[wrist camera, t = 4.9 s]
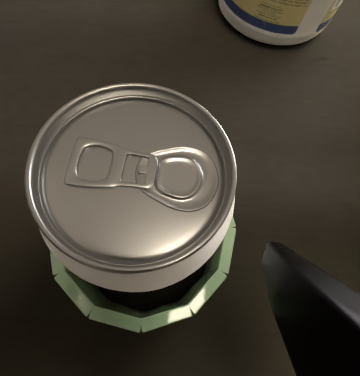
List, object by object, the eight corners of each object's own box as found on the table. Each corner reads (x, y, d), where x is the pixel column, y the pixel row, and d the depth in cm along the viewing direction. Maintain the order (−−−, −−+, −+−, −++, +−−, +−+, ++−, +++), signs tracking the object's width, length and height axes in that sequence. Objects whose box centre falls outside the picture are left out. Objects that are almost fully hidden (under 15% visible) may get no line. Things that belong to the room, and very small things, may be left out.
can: (188, 296, 17) (251, 310, 6) (89, 283, 17) (-41, 274, 6) (197, 203, 19) (254, 88, 8) (111, 191, 19) (50, 56, 8)
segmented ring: (86, 340, 16) (60, 359, 11) (66, 192, 19) (40, 165, 15) (235, 293, 17) (260, 294, 13) (193, 165, 21) (203, 133, 16)
